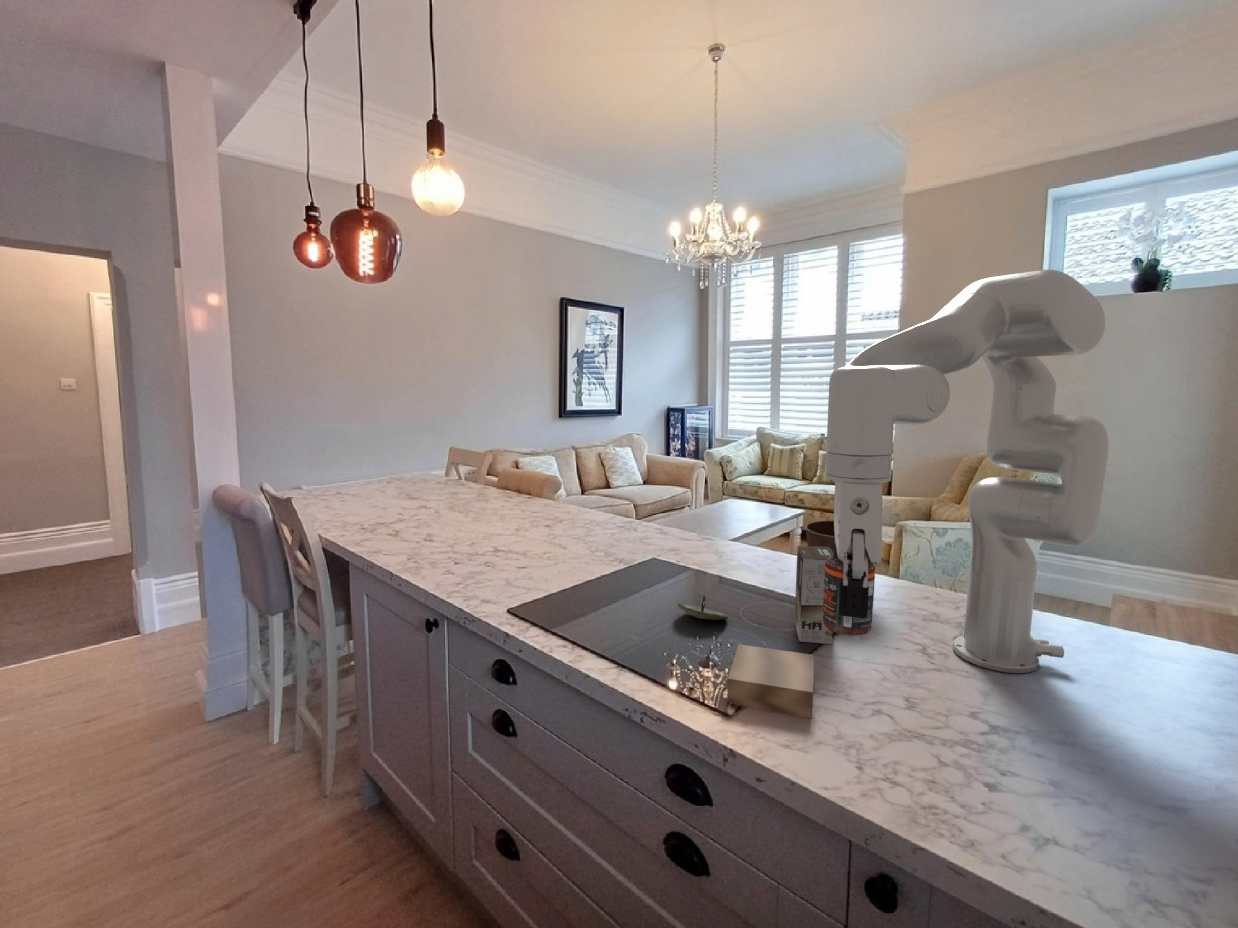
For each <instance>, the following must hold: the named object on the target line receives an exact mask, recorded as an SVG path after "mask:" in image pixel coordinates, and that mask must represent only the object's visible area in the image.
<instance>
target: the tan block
mask: <svg viewBox="0 0 1238 928" xmlns="http://www.w3.org/2000/svg"><path fill="white" fill-rule="evenodd" d="M735 650H736V651H735V654H734V658H733V661H732V664H731V668H730V671H729V674H728V678H727V696H726V697H727V698H726V699H727V700H726V701H727V703H731V704H730V705H732V704H735V705H734V706H738V705H742V706H741V707H744V708H749V709H750V708H751V709H755V710H762V711H767V712H773V713H779V714H783V715H784V714H785V715H789V716H796V717H800V718H806V719H807V718H808V719H812V718H813V702H814V700H813V697H814V654H810V653H802V652H796V651H795V652H794V651H788V650H782V649H775V648H768V647H767V648H766V647H760V646H754V645H753V646H752V645H746V644H738V645H737V647H736V649H735ZM727 703H726V704H727Z"/></svg>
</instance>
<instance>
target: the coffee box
mask: <svg viewBox="0 0 1238 928" xmlns="http://www.w3.org/2000/svg"><path fill="white" fill-rule="evenodd" d="M796 549H797V550H796V570H795V571H796V572H795V573H796V575H795V597H794V598H795V604H794V625H795V631H796V634H797V637H798V638H797V639H798V641H799V642H802V643H804V642H805V643H814V644H825V645H833V644H834V640H835V632H834V631H832V630H830V629H829V628H827V627H826V626H825V625H824V623H823V599H824V578H825V563H826V560H827V558H828V557H830V556H832V555H833V554H834V553H833V551H832V550H831V548H830V547H817V546H809V547H808V546H802V545H797V547H796Z"/></svg>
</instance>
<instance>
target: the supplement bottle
mask: <svg viewBox="0 0 1238 928" xmlns="http://www.w3.org/2000/svg"><path fill="white" fill-rule="evenodd" d="M851 542H852V539H851ZM833 551H834V554H833V555H832V556H830V557H828V558H827V560H826V563H825V578H824V599H823V623H824V625H825V626H826V627H827V628H829V629H830V630H832V631H834V633H837V634H841V635H845V636H847V635H848V636H853V637H854V636H861V635H862V636H863V635H866V634H868V633H869V632H870V631H872V626H873V625H872V624H873V613H874V596H875V595H874V594H875V579H876V566H875V563H874V562H871V560H870V559H868V586H869V593H868V612H867V617H866V618H857V617H848V616H841V615H840V614H839V599H840V583H843V562H842V561H841V560H840V559H838V556H837V549H836V542H834V549H833ZM847 552H848V551H847ZM847 559H850V560H852V555H847ZM849 568H852V565H848V571H849Z"/></svg>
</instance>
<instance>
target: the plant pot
mask: <svg viewBox="0 0 1238 928" xmlns="http://www.w3.org/2000/svg"><path fill="white" fill-rule="evenodd" d="M805 535H806V544H807V547H809V546H817V547H830V548H831V550H832V551H833V549H834V542H835V532H834V520H818V521H813V522H810V523H807V524H806V525H805ZM833 553H834V551H833ZM868 559H870V557H869V555H868Z"/></svg>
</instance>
